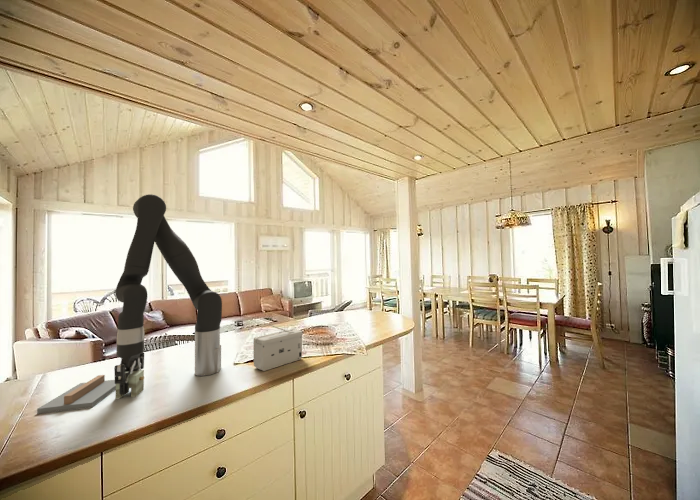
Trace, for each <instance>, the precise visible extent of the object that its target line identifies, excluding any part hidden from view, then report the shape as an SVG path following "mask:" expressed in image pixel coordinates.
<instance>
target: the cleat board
mask: <svg viewBox="0 0 700 500" xmlns="http://www.w3.org/2000/svg"><path fill="white" fill-rule="evenodd" d="M105 377H106V374H99V375H96V376H95V377H94V378H92V379H89V381H87V382H80V383H79V384H76V385H75V386H74V387H72V388H69V389H68V390H66V391H64V392H63V393H61V394H60V395H58V396H57V397H55V398H53V399H51V400H50V401H48V402H45V404H43V405H41V406H39V407H38V408H37V409H36V411H37V412H36V415H37V414H38V415H40V414H47V413H55V412H56V413H57V412H64V411H72V410H80V409H90V408H93V407H95V406H96V405H97V404H99V403H100V402H101V401H103V400H104V399H105V398H107V397H108V396H109V395H111V394H112V393H113V392H115V391H116V384H115V379H110V380H105Z"/></svg>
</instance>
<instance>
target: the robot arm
mask: <svg viewBox="0 0 700 500" xmlns="http://www.w3.org/2000/svg"><path fill="white" fill-rule="evenodd" d="M132 211H133V214H134V215H135V217H136V219H137V222H136V227H135V232H134V235H133V237H132V241H131V243H130V245H129V249H128V251H127V254H126V259H125V263H124V268H123V272H122V273H121V276H120V278H119V280H118V283H117V285H116V288H115V297H116V300H118V302H120V303H123V305H122V311H120V313H119V314H118V317H117V332H116V354H115V355H116V357H118V358H119V359H120V364H115V366H114V370H113V371H114V380H115V384H120V389H119V394H120V395H123V394H125V395H127V394H128V393H129V392H128V380H129V377H130V375H132V372H133V371H138V370H144V368H145V352H144V351H145V328H144V327H145V326H144V320H145V319H144V313H145V310H146V305H147V301H148V291H147V288H146V286H145V285H142V281H143V279H144V278H145V277H146V276H147V275H148V273H149V271H150V266H151V261H152V257H153V251H154V246H155V245H156V247H157V248H158V250H159V252H160V254H161V255H162V257H163V259H164V260H165V262H166V264H167V265H168V266H169V268H170V269H171V271H172V273H173V274H174V275H175V276H176V278H177V280H179V282H180V283H181V284H182V286H183V287H184V289H185V291H186V292H187V294H188V296H189V298H190V300H191V302H192V305H193V306H194V308H195V309H196V311H197V315H196V316H197V318H196V319H197V320H196V323H195V325H194V375H195V376H198V377H199V376H200V377H203V376H210V375H213V374H218V373H219V371H220V370H221V368H222V345H221V343H220V342H221V340H220V339H221V323H222V315H223V301H222V297H221V295H220V294H219V292H215V291H213V290H212V289H210V287H209V286H208V285H207V283H206V282H205V281H204V278H203V277H202V274H201V272H200V269H199V265H198V263H197V260H196V258H195V256H194V254H193V253H192V251H191V249H190V247H188V245H187V244H186V242H185V241H184V240H183V239H182V238H181V237H180V236H179V235H178V234H177V233H176V232H174V230H173V229H172V228H171V227H170V224H169V223H168V221H167V219H166V217H165V214H166V211H167V205H166V202H165V200H164V199H163V198H162V197H160V196H159V195H156V194H152V193H151V194H145V195H142V196H140V197H139V198H138V199H136V201H135V202H134V203H133V206H132ZM125 372H127V373H125ZM119 376H120V377H119ZM125 376H126V379H125Z"/></svg>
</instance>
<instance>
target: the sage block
mask: <svg viewBox="0 0 700 500" xmlns="http://www.w3.org/2000/svg"><path fill="white" fill-rule="evenodd" d="M144 371H145V370H144V369H141V370H138V371H133V372H132V375H130V377H129V380H128V393H129V392H130V397H131V398H136V397H138V395H139V394H141V393H142V392H143V391H144V389H145V388H144V385H145V376H144V375H145V372H144ZM125 373H127V372H125ZM119 377H120V376H119ZM125 379H126V376H125ZM119 389H120V384H116V390H115V400H116V399H117V400H119V399H122V398H123V397H124V396H125V395H126V394H123V395H120V394H119Z"/></svg>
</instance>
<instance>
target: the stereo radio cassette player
mask: <svg viewBox="0 0 700 500" xmlns="http://www.w3.org/2000/svg"><path fill="white" fill-rule="evenodd" d="M263 324H264V325H265V324H266V325H267V326H269V327H272V328H275V329H278V330H280V331H279V332H274V333H268V334H264V335H259V336H256V337H254V338H253V367H255V368H256V369H257V370H258V369H259V370H261V371H263V372H266V371H269V370H272V369H274V368H277V367H281V366H283V365H287V364H290V363H293V362H297V361H300V360H301V359H302V357H303V330H300V329H296V328H292V329H290V328H289V329H284V328H280V327H278V326H275V325H273V324H272V325H271V324H268V323H266V322H263Z"/></svg>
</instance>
